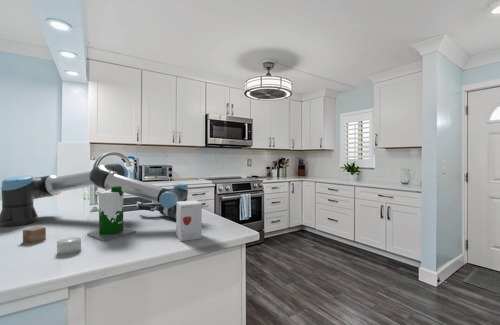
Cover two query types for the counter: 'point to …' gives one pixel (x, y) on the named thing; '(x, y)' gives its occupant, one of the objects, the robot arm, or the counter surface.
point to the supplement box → (188, 220)
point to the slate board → (111, 236)
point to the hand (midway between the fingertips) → (147, 202)
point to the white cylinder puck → (68, 246)
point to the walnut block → (34, 234)
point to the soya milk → (111, 210)
